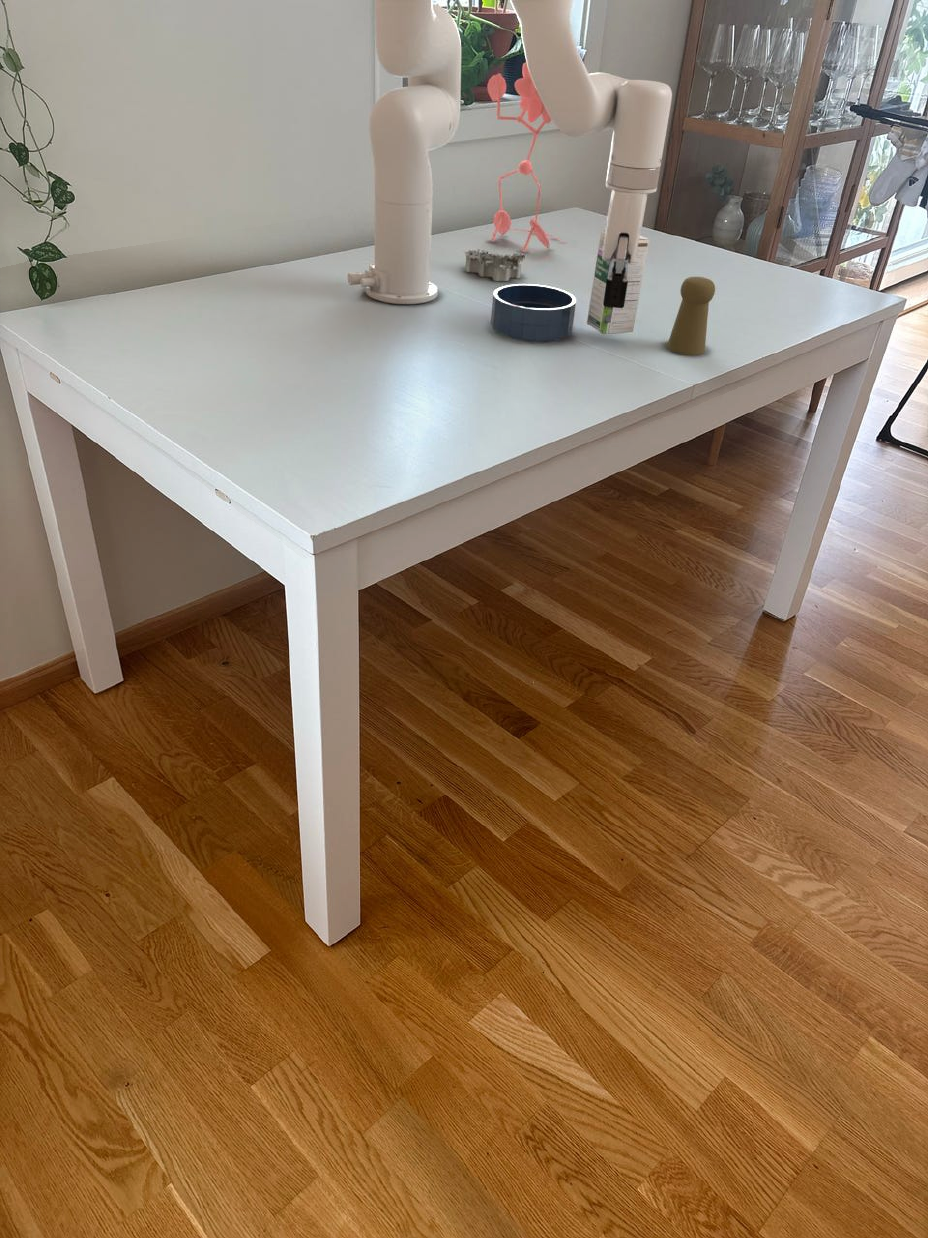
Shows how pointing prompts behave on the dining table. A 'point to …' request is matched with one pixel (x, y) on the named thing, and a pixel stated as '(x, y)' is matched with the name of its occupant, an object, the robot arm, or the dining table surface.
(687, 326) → the olive brown pawn
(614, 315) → the syrup box
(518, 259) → the egg carton
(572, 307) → the bowl
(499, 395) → the dining table surface
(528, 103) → the figurine
